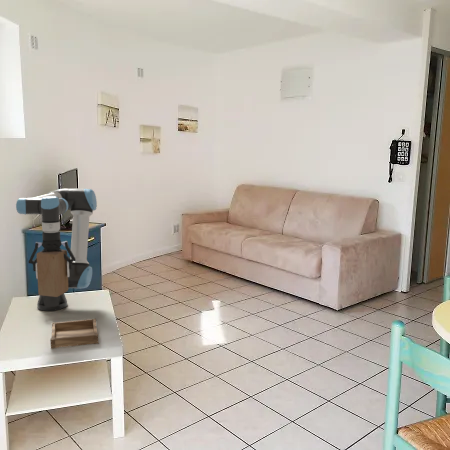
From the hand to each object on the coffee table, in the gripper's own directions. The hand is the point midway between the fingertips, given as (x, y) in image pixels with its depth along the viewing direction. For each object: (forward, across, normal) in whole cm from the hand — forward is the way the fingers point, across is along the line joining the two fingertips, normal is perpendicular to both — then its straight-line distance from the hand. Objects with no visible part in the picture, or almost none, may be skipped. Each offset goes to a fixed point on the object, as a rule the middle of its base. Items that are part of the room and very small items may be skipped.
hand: (53, 277), depth 217 cm
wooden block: (+8, 0, 0) cm, 8 cm away
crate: (+27, +9, -6) cm, 29 cm away
